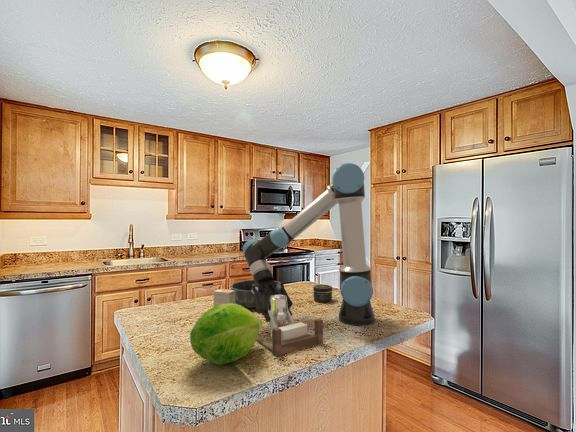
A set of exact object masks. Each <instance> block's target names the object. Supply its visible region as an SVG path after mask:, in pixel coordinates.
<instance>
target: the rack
mask: <svg viewBox="0 0 576 432" xmlns="http://www.w3.org/2000/svg"><path fill="white" fill-rule="evenodd" d="M287 325H288V322H286V326H287ZM256 342H257V343H258V344H260V345H261V346H262V347H264V348H265V349H267V350H268V351H269V352H270V353H272V355H274V356H275V357H277V356H282V355H284V354H287V353H291V352H296V351H298V350H302V349H305V348H308V347H309V348H310V347H312V346H317V345H321V344H323V343H324V320H323V319H322V318H316V319H314V334H310V336H307V337H303V338H299V339H295V340H291V341H287V342H283V343H281V329H280V328H274V329H273V338H272V345H271V344H270V343H268V342H267V341H266V340H264V339H263V338H262V337H260V336H259V335H257V339H256Z"/></svg>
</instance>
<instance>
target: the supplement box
mask: <svg viewBox="0 0 576 432" xmlns="http://www.w3.org/2000/svg"><path fill="white" fill-rule="evenodd" d="M230 303H231V304H236V302H235V290H231V289H225V288H218V289H215V290H213V307H214V306H217V305H221V304H230Z"/></svg>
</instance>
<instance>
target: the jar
mask: <svg viewBox="0 0 576 432" xmlns="http://www.w3.org/2000/svg"><path fill="white" fill-rule="evenodd" d="M312 291H313V292H312V295H313V300H314V302H316V303H320V304H326V303H327V304H328V303H331V302H332V300H333V286H332V285H330V284H315V285H313V289H312Z"/></svg>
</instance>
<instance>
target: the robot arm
mask: <svg viewBox="0 0 576 432" xmlns="http://www.w3.org/2000/svg"><path fill="white" fill-rule="evenodd" d="M365 192H366V191H365V173H364V172H363V170H362V168H361V167H360V166H359V165H357V164H355V163H352V162H346V163H342V164H340V165H338V166H337V167H336V168H335V169H334V171H333V173H332V176H331V183H330V184H328V185H327V187H326V190H325V191H324V192H323V193H321V194H320V195H319V196H318V197H316V198H315V199H314V200H313V201H312V202H310V203H309V204H308V205H307V206H306V207H305V208H304V209H302V210H301V211H300V212H299V213H298V214H296V215H295V216H294V217H293V218H292V219H290V220H289V221H287V222H286V223H285V224H284V225H283V226H282V227H277V228H275V229H273V230H271V231H270V232H269V233H267V234H266V235H265V236H264V237H262V238H260V240H255V239H250V240H247V241H246V242H245V243H244V244H243V246H242V252H243V256H244V258H245V260H246V263H247V265H248V268H249V270H250V274H251V276H252V278H253V279H252V280H254V282H255V284H256V286H257V287H253V288H252V290H251V293H252V295H253V297H254V301H255V305H256V307H255V308H256V312H257V314H258V315H260V314H261V316H263V317H264V320H265V322H266V323H268V324H269V327H270V331H271V330H272V331H273V329H274V328H276V324H275V322H274V319H273V317H272V314H271V313H270V311H268V303H267V296H268V295H285V296H287V306H288V311H287V319H286V323H288V325H291V324H295V322H294V319H293V317H292V316H293V312H292V311H291V307H292V306H293V302H292V299H291V298H290V296H289V294H288V292H287V290H286V288H285V285H284V283H282V282H280V283H281V284H277V283H276V282H275V281H276V280H275V278H274V275H273V273H272V271H271V267H270V265H269V264H268V261H267V258H268V257H270V256H271V255H272V254H274V253H275V252H277V251H279V250H280V249H284V248H286V247H287V246H289V244H290V243H291V242H293V240H295V239H296V238H297V237H299V236H300V235H301V234H302V233H303V232H304V231H305V230H307V229H308V228H309V227H311V226H312V225H313V224H314V223H316V222H317V221H318V220H319V219H321V218H322V217H323V216H324V215H326V214H327V213H328V212H329V211H330V210H332V209H333V208H334V207H335V206H336V205H338V209H339V222H340V223H339V224H340V233H341V234H340V235H341V237H340V238H341V246H342V247H341V248H342V250H341V251H342V262H343V263H342V264H343V265H342V267H341V268H339V273H340V291H339V292H340V295H341V297H342V302H341V305H340V309H339V312H338V320H339V321H340V322H342V323H344V324H347V325H352V326H368V325H372V324H374V323H375V321H376V320H375V313H374V309H373V306H372V303H371V302H372V301H371V299H372V297H373V295H374V288H373V281H372V271H371V267H369V265H367V259H366V246H365V245H366V244H365V231H364V222H363V221H364V220H363V219H364V217H363V208H362V207H363V206H362V202H363V201H364V200H365V198H366V194H365ZM276 288H278V290H279V291H278V290H277V289H276ZM258 291H259V292H260V293H262V304H261V301H260V297H259V293H258ZM279 292H280V294H279Z"/></svg>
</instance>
